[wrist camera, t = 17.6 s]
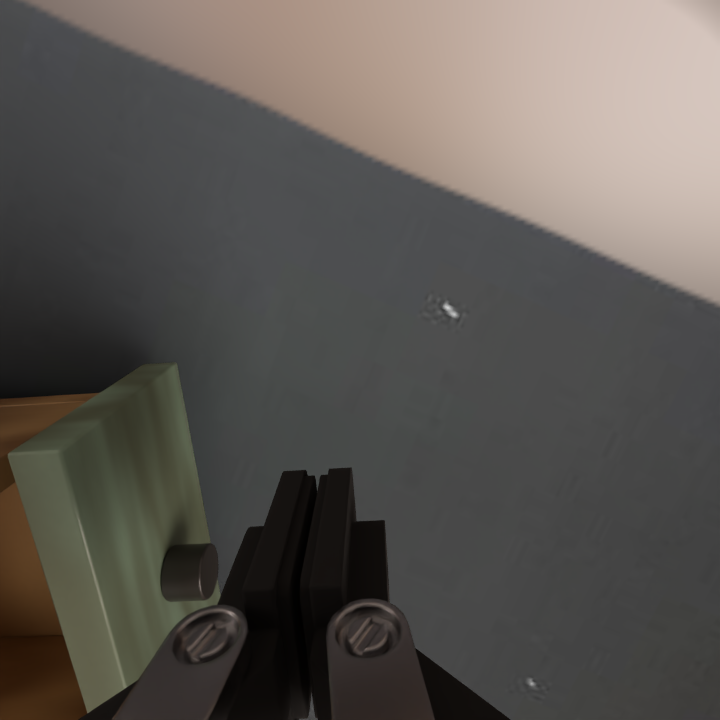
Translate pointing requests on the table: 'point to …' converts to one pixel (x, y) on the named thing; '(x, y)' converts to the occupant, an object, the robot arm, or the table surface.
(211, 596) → the drawer
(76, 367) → the table surface
